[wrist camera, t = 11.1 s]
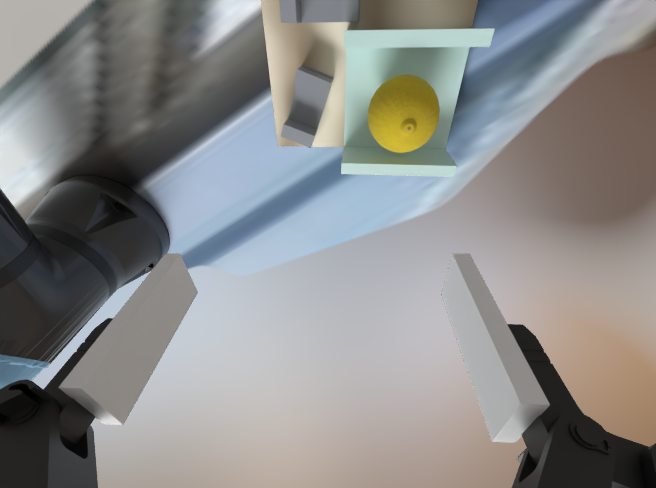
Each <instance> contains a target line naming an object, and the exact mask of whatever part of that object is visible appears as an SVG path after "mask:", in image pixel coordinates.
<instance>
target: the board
mask: <svg viewBox="0 0 656 488" xmlns="http://www.w3.org/2000/svg"><path fill="white" fill-rule="evenodd" d="M477 3H478V0H360V18H359V22H322V23H281V17H280V5H279V0H261V5H262V14H263V22H264V31H265V40H266V48H267V57H268V65H269V74H270V82H271V91H272V100H273V108H274V117H275V125H276V134H277V143H278V146H304V145H301V144H299V143H296V142H293V141H291V140H288V139H286V138H283V137H281V132H282V128H283V124H284V123H285V122H286V120H287V119H288V117H289V113H290V109H291V105H292V101H293V97H294V93H295V89H296V86H295V85H293V83H294V79H295V75H296V70H297V69H298V68H299V67H301V65H302V64H303V65H306V66H308V67H311V68H313V69H315V70H318V71H320V72H323V73H325V74H327V75H330V76H332V77H334V79H333V82H332V85H331V89H330V92H329V95H328V98H327V101H326V104H325V107H324V111H323V114H322V117H321V120H320V123H319V126H318V130H317V133H316V136H315V139H314V142H313V144H312V146H311V147H344V125H345V80H346V48H344V30H364V29H440V28H472V25H473V20H474V16H475V12H476V8H477Z"/></svg>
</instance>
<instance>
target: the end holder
mask: <svg viewBox="0 0 656 488" xmlns="http://www.w3.org/2000/svg"><path fill="white" fill-rule="evenodd" d="M493 33H494V29H492V28H440V29H364V30H344V48H346V80H345V125H344V150H343V157H342V169H341V174H367V175H403V176H440V177H454V176H455V173H456V169H457V165H456V163H455V162H454V160H453V159H452V158H451V156H450V155H449V153H448V152H447V150H446V145H447V140H448V136H449V132H450V128H451V123H452V119H453V115H454V111H455V107H456V102H457V98H458V94H459V90H460V85H461V81H462V77H463V73H464V69H465V64H466V60H467V56H468V52H469V47H490V44H491V40H492V36H493ZM399 75H413V76H418V77H420V78H421V79H423V80H425V81H427V82H428V83H429V85H430V86H431V87H432V88H433V89H434V91H435V93H436V95H437V97H438V101H439V107H440V113H439V121H438V124H437V127H436V130H435V131H434V133H433V135H432V136H431V138H430V139H429V140H428V141H427V142H426V143H425V144H424V145H422V146H421V147H419V148H418V149H415V150H413V151H411V152H405V153H398V152H393V151H390V150H387V149H385V148H384V147H382V146H381V145H380V144H379V143H378V142H377V141H376V140H375V139H374V137H373V135H372V133H371V131H370V129H369V124H368V108H369V105H370V101H371V99H372V97H373V95H374V93H375V92H376V90H377V89H378V88H379V87H380V86H381V85H382V84H383V83H384V82H386V81H387V80H389V79H390V78H393V77H396V76H399Z"/></svg>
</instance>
